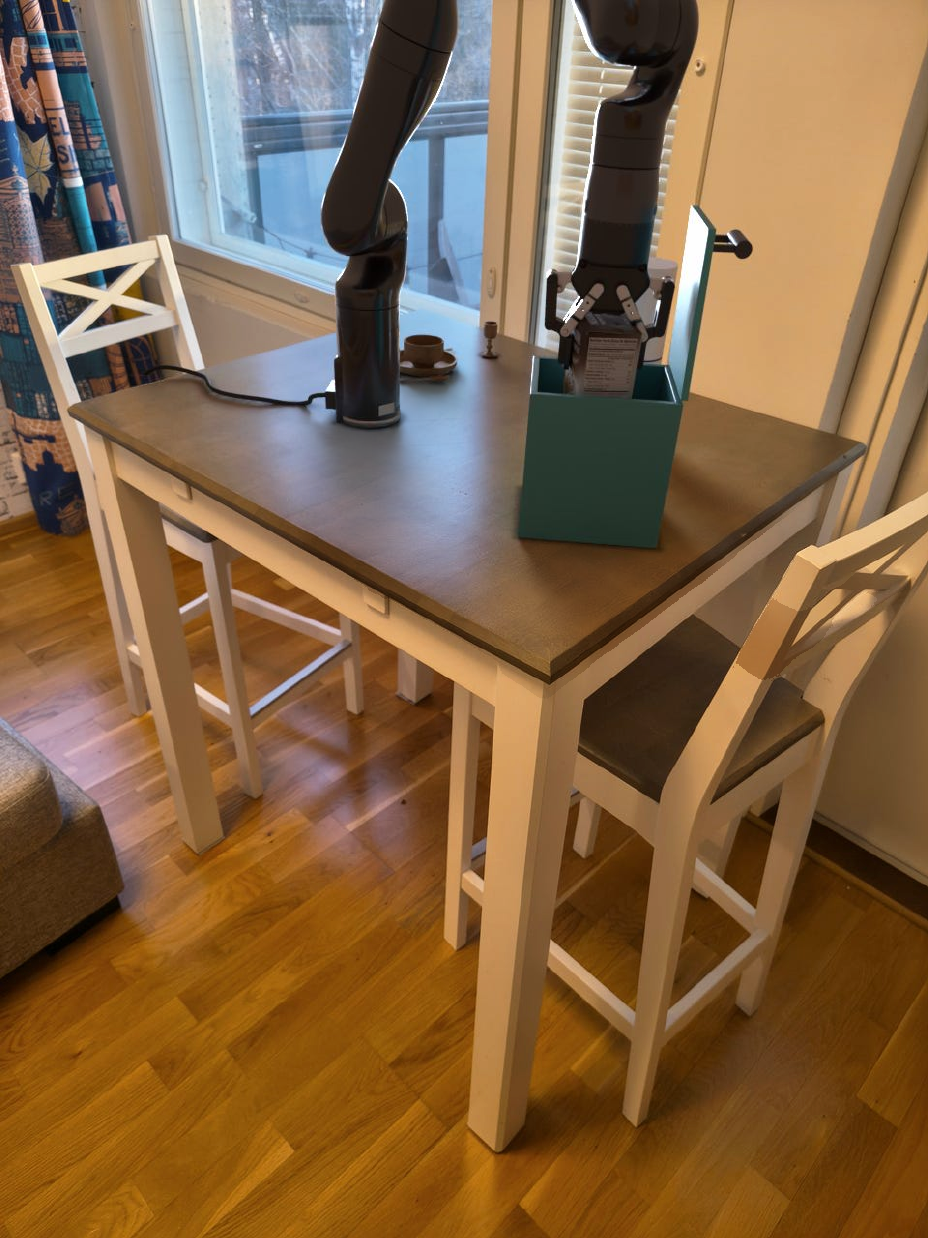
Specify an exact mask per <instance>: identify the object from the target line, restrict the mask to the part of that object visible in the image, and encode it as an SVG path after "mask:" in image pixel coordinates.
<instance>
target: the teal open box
mask: <svg viewBox="0 0 928 1238" xmlns="http://www.w3.org/2000/svg"><path fill="white" fill-rule="evenodd" d="M564 371H565V370H563V364H559V363H558V356H548V355H547V356H546V355H532V367H531V376H530V378H531V379H530V390H529V398H528V399H529V401H528V412H527V413H528V414H527V424H526V434H525V436H526V437H525V446H524V459H523V460H524V461H523V471H522V472H523V473H522V482H521V494H520V503H519V504H520V506H519V515H518V517H519V518H518V528H517V538H522V539H535V540H545V541H559V542H570V543H571V542H572V543H583V544H584V543H585V544H594V545H595V544H598V545H608V546H620V547H632V548H633V547H634V548H645V549H646V548H647V549H657V548H658V544H659V537H660V533H661V526H662V522H663V516H664V511H665V506H666V500H667V496H668V491H669V484H670V478H671V475H672V470H673V462H674V459H675V454H676V453H675V452H676V446H677V442H678V437H679V432H680V424H681V421H682V415H683V411H684V410H683V409H684V403H683V401H681V400H680V397H679V394H678V390H677V387H676V384H675V381H674V378H673V374H672V371H671V368H670V365H669V364H662V363H661V364H648V363H643V366H642V368H641V370H640V369H637V370H636V376H635V382H634V388H633V394H632V399H626V398H612V397H599V396H585V395H571V394H562V390H563V380H564Z"/></svg>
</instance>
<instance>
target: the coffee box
mask: <svg viewBox="0 0 928 1238" xmlns="http://www.w3.org/2000/svg"><path fill="white" fill-rule="evenodd" d="M641 339H642V332H641V331H640V330H639V329H638V328H637V326H631V324H630V322H629V320H628V317H627V315H626V313H624V314H621V316H614V315H611V314H608V313H604V314H592V312H590V311H588V312H587V314H586V315H585V317H584V318H583V319H582V320H581V321H580V322H579V323H578V325H577V326H576V327H575V329H574V330H573V331H572V347H571V356H570V365H569V370H565V371H564V380H563V390H562V394H571V395H585V396H599V397H612V398H626V399H632V394H633V388H634V382H635V376H636V370H637V364H638V358H639V352H640V345H641Z"/></svg>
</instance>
